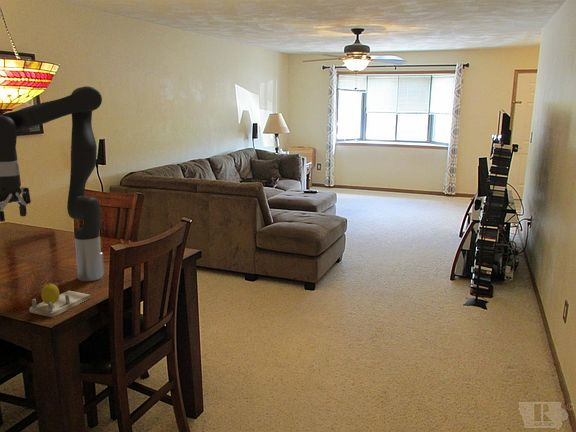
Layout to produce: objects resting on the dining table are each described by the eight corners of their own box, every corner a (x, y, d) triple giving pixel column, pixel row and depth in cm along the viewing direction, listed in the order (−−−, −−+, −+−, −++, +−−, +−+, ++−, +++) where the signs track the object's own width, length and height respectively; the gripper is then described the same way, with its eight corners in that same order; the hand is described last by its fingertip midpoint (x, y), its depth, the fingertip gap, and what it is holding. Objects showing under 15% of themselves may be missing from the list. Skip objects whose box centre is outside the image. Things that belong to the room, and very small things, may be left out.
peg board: (69, 294, 176) (68, 282, 174) (90, 298, 172) (89, 286, 171) (29, 312, 160) (28, 299, 159) (52, 317, 157) (50, 304, 156)
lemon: (39, 306, 161) (36, 284, 160) (54, 300, 166) (52, 279, 164) (48, 310, 158) (45, 287, 157) (63, 304, 163) (61, 282, 161)
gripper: (17, 170, 174) (22, 213, 178) (-20, 175, 161) (-14, 222, 165) (32, 172, 172) (37, 215, 175) (-4, 177, 159) (2, 224, 162)
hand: (12, 218), depth 170 cm, fingers open, 8 cm apart
